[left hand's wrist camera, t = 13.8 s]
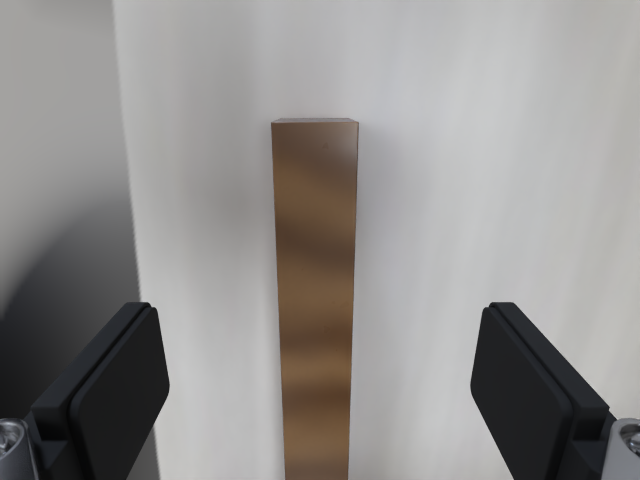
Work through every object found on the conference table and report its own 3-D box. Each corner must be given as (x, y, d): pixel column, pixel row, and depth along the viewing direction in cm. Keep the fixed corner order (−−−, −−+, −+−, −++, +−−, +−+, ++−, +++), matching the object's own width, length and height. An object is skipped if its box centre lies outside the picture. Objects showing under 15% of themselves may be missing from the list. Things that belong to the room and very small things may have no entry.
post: (279, 118, 31) (271, 122, 24) (349, 118, 31) (358, 121, 24) (295, 601, 50) (293, 674, 43) (338, 600, 50) (342, 673, 44)
